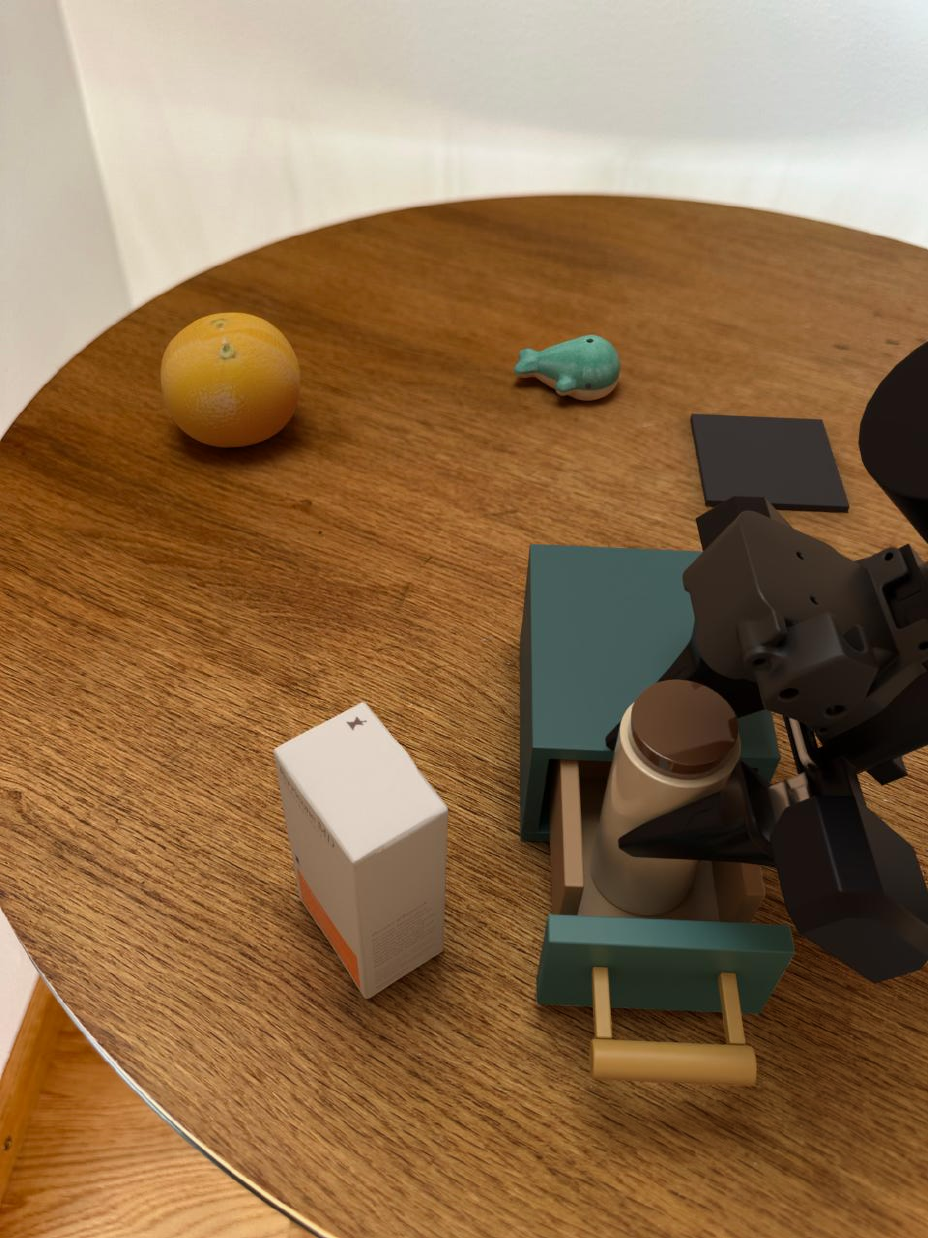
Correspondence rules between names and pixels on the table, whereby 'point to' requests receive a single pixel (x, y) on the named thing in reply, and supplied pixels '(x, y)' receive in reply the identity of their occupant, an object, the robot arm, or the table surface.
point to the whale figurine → (574, 367)
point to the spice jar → (660, 787)
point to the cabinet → (601, 659)
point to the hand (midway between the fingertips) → (617, 795)
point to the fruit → (230, 380)
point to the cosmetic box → (366, 846)
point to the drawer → (653, 949)
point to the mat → (768, 461)
